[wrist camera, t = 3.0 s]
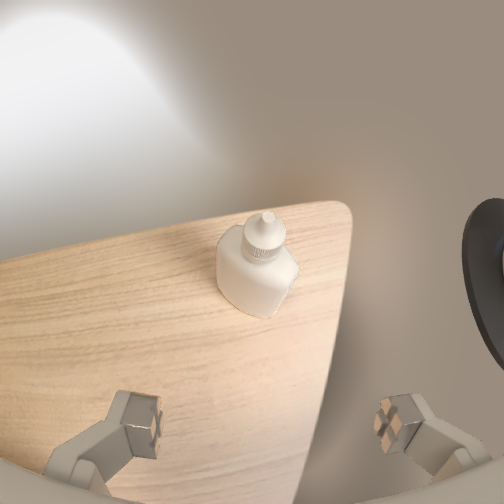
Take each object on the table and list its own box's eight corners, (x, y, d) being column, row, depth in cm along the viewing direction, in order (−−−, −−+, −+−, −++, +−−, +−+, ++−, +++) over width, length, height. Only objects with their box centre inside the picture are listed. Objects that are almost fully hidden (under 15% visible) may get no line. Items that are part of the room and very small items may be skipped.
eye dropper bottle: (256, 256, 29) (278, 167, 18) (286, 310, 27) (331, 245, 16) (211, 275, 28) (207, 191, 17) (240, 333, 26) (256, 280, 15)
